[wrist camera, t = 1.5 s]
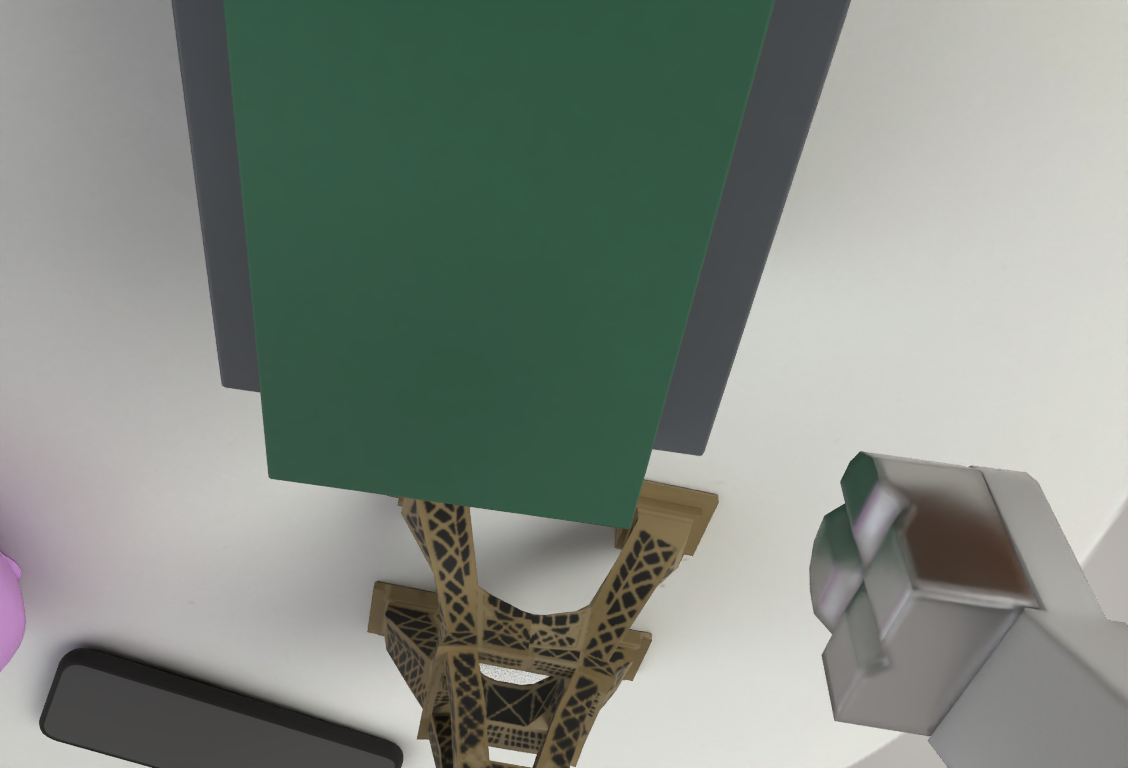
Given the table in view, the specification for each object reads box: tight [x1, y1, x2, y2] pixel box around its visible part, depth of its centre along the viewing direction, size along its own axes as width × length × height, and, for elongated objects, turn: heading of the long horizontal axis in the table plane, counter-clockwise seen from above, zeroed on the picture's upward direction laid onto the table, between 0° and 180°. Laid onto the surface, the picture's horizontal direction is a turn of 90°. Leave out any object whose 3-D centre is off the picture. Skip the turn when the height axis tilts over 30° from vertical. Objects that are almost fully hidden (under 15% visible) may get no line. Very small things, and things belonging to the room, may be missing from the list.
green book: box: [223, 0, 775, 529], centre depth 13 cm, size 13×6×2 cm, turn 172°
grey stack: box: [172, 0, 851, 456], centre depth 17 cm, size 14×10×8 cm
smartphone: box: [39, 648, 403, 768], centre depth 41 cm, size 7×1×15 cm
